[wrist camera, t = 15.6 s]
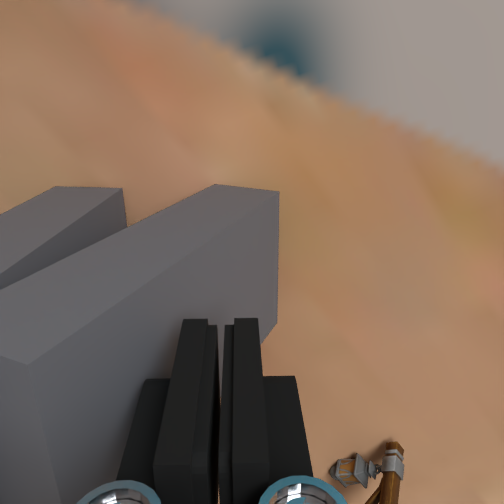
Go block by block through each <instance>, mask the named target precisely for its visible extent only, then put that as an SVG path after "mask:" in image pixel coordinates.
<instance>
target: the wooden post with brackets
mask: <svg viewBox="0 0 504 504" xmlns="http://www.w3.org/2000/svg"><path fill="white" fill-rule="evenodd" d="M403 453H404V449H403V448H402V447H401V446H400V444H399V443H398V442H389V443H386V450H385V454H386V456H384V457H383V460H382V465H378V464H375V465H374V464H373V463H372V462H371V460H370V462H369V464H368V463H366V462H365V461H364V459H363V458H362V457H361V456H360V455H359V454H358V453H356V459H340V460H339V459H338V460H337V465H336V466H333V467H331V469H330V475H331V477H332V478H333V479H335V480H339V481H340V482H341V483H342V485H343V486H344V487H347V486H348V485H351V484H358V483H361V484H362V485H363V487H364V488H367V484H368V476H369V477H370V478H371V476H372V477H373V478H374V479H376V474H379V473H380V472H382V473H383V478H382V479H381V482H380V485H379V487H378V488H377V489H376V491H375V492H374V493H373V494H372V496H371V497H370V498H369V499H368V500H367V502H366V503H365V504H378V503H379V504H398V498H399V488H400V480H403V473H404V464H403V463H402V461H403V459H404V458H403ZM376 466H378V467H376ZM377 469H378V472H377Z"/></svg>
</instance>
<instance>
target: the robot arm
mask: <svg viewBox="0 0 504 504" xmlns="http://www.w3.org/2000/svg"><path fill="white" fill-rule="evenodd" d="M218 490H219V496H220V504H347V502H346V500H345V499H344V497H343V495H342V494H340V493H339V492H338V491H337V490H336V489H335V488H334V487H333V486H332V485H330V484H328V483H326V482H324V481H323V480H321V479H318V478H314V477H313V472H312V466H311V461H310V455H309V450H308V444H307V439H306V433H305V428H304V422H303V416H302V411H301V405H300V400H299V394H298V389H297V383H296V379H295V376H263V374H262V361H261V348H260V336H259V323H258V318H234V324H233V325H225V328H224V349H223V370H222V391H221V405H220V379H219V353H218V328H217V325H208V319H183V322H182V326H181V331H180V336H179V341H178V346H177V350H176V355H175V360H174V365H173V370H172V375H171V378H164V379H146V380H145V381H144V384H143V387H142V390H141V394H140V397H139V401H138V404H137V408H136V411H135V415H134V418H133V422H132V425H131V429H130V432H129V436H128V439H127V443H126V446H125V450H124V453H123V457H122V460H121V464H120V467H119V471H118V474H117V478H116V481H114V482H110V483H107V484H103V485H101V486H99V487H98V488H96V489H94V490H92V491H90V492H89V493H87V494H86V495H85V496H84V497H83V498H82V499H81V500H80V501H78V502H77V503H76V504H218Z"/></svg>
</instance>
